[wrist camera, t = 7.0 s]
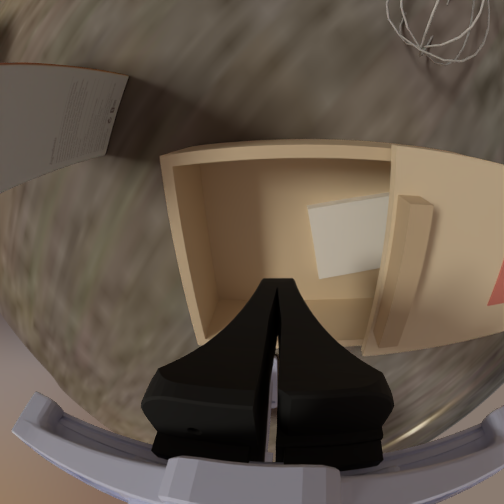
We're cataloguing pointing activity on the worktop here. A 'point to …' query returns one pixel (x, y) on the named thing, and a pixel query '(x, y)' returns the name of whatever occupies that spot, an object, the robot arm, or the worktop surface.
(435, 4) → the kitchen whisk
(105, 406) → the worktop surface
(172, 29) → the worktop surface
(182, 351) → the worktop surface
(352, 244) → the note card
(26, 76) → the small box
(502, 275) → the lid
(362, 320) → the wooden box
